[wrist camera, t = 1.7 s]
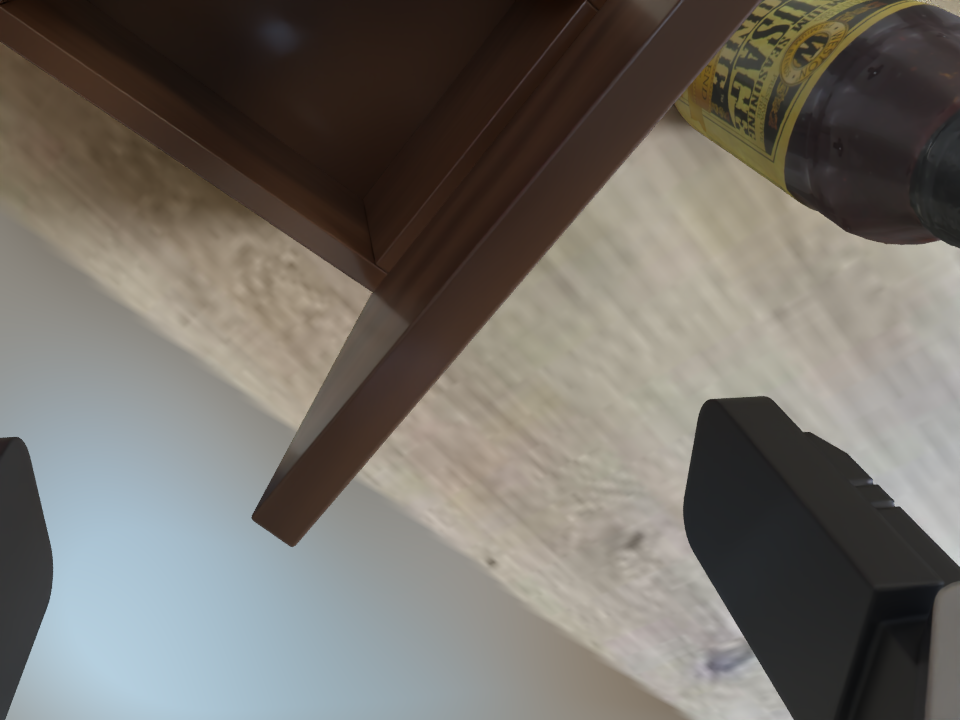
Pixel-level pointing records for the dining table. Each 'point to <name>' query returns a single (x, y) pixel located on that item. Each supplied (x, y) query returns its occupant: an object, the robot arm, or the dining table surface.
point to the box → (310, 98)
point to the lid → (494, 235)
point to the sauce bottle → (844, 111)
